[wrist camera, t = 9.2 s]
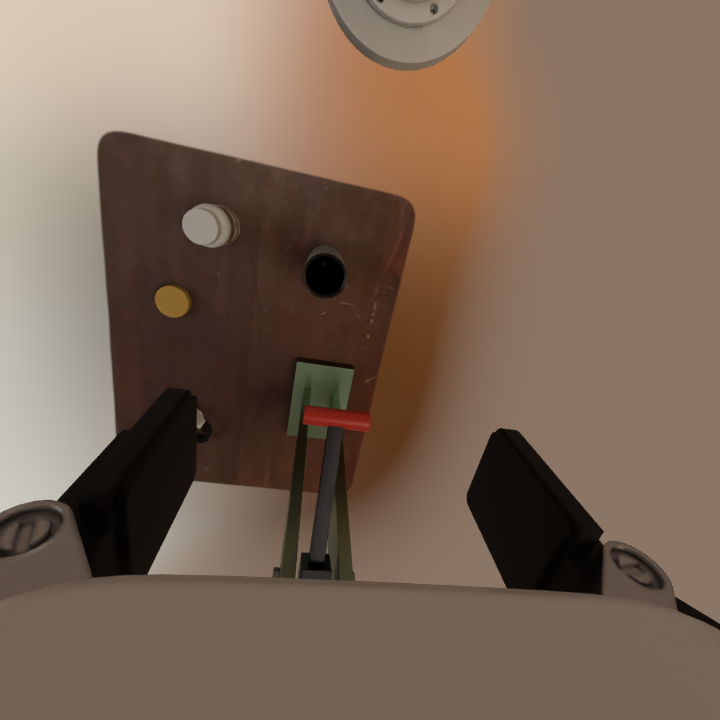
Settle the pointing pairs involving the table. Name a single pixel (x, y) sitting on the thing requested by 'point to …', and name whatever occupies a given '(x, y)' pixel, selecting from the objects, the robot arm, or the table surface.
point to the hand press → (312, 388)
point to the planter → (325, 272)
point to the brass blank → (173, 301)
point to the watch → (203, 428)
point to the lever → (327, 483)
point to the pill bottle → (211, 225)
